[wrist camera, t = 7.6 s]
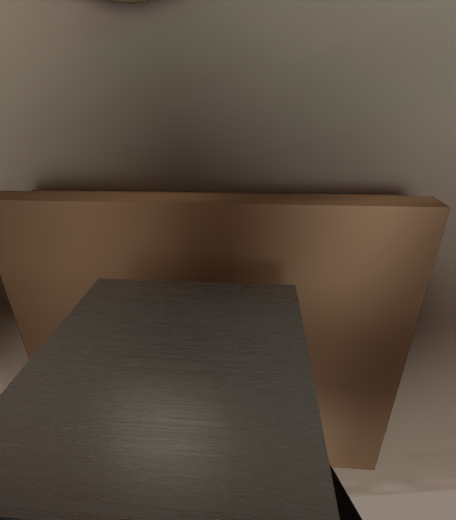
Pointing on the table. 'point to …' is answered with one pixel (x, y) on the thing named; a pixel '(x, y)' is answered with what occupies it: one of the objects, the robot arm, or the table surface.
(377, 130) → the table surface
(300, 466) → the housing
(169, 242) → the tan flat board
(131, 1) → the cream rounded piece
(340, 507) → the robot arm
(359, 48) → the table surface
